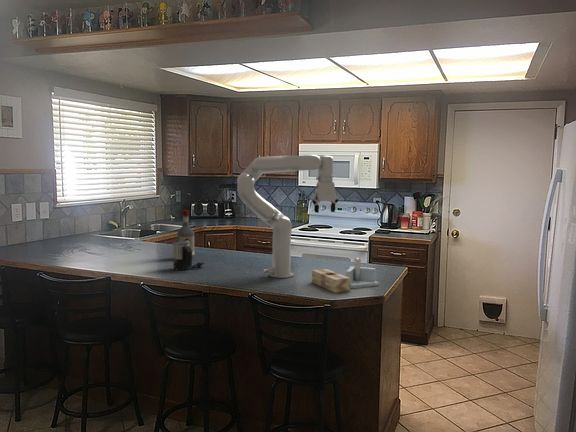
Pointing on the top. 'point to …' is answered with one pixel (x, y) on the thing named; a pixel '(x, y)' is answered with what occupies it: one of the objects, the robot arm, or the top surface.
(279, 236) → the robot arm
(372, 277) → the grey angled piece
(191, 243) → the liquor
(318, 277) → the beam
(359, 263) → the axle
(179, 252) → the milk frother
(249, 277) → the top surface
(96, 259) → the top surface
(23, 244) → the top surface
